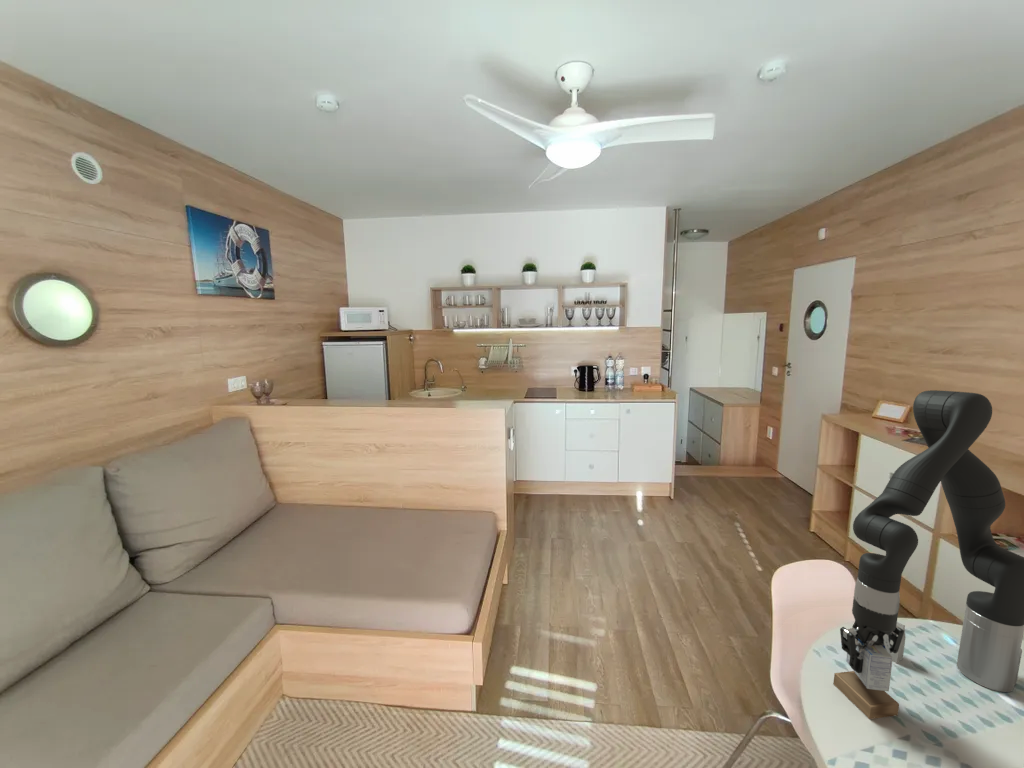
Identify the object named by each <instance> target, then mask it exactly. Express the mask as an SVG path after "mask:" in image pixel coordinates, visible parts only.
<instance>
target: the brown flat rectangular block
mask: <svg viewBox="0 0 1024 768" xmlns="http://www.w3.org/2000/svg"><path fill="white" fill-rule="evenodd" d="M832 685H834V686H835V688H836V689H838V690H839V691H840V693H842V694H843V696H845V697H846V698H847V699H848V700H849V701H850V702H851V703H852V704H853V705H854V706H855V707H856V708H857V709H858V710H859V711H860V712H861V713H862V714H863V715H865V717H866V718H868V719H869V720H872V719H873V720H874V719H875V720H876V719H882V718H889V717H898V715H899V709H900V703H899V702H898V701H897V700H896V699H894V698H893V697H892V696H891V695H890V694H888V693H887V691H880V690H873V689H867V688H866V686H865V685H864V684H863V682H862V681H861V680H860V678H859V677H858V676H857V674H856V673H855V672H854V670H852V671H851V670H849V671H844V672H843V671H841V672H834V674H833V684H832Z"/></svg>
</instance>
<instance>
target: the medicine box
mask: <svg viewBox="0 0 1024 768" xmlns="http://www.w3.org/2000/svg"><path fill="white" fill-rule="evenodd" d="M859 641H860V642H861V643H862V644H863V645H865V644H864V643H863V642H862V641H861V640H860V639H859ZM856 650H857V651H858V652H859V650H860V648H859V647H858V646H857V648H856ZM862 659H863V666H862V673H857V672H856V671H855V670H853V671H854V672H855V673H856V674H857V676H858V677H859V678H860V680H861V681H862V682H863V684H864V685H865V686H866V688H867V689H873V690H880V691H885V692H890V685H891V677H892V669H893V668H892V667H893V661H892V660H893V658H892V656H891V655H890V654H889V653H888V652H887V651H886V650H885V649H884V647H883V646H882V645H873V646H872V647H871V649H870V650H867V651H865V653H864V657H863V658H862ZM845 660H846V663H847V664H848V665H849V662H850V655H849V654H848V653H847V652H846V659H845Z"/></svg>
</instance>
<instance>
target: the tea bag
mask: <svg viewBox="0 0 1024 768" xmlns="http://www.w3.org/2000/svg"><path fill="white" fill-rule="evenodd" d="M897 626H898V627H900V628H901V629H903V630H904V634H903V637H902V640H901V643H900V646H899V649H898V652H897V653H893V652H892V653H891V656H892V658H893V660H892V663H895V664H898V663H899V662H900V661H902V659H904V653H905V651H904V650H905V645H906V629H905V627H906V625H904V624H902V623H900V622H898V621H897ZM890 644H891V645H893V641H892V640H891V641H890Z"/></svg>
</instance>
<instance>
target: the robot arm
mask: <svg viewBox="0 0 1024 768" xmlns="http://www.w3.org/2000/svg"><path fill="white" fill-rule="evenodd" d="M912 410H913V412H912V413H913V417H914V420H915V423H916V426H917V427H918V429H919V432H920V434H921V435H922V438H923V440H924V442H925V443H926V445H927V449H924V450H923V451H922V452H920V453H918V454H917V455H915V456H913V457H911V458H909V459H908V460H906V461H905V462H904V463H902V464H901V465H900V466H898V467H897V469H896V470H895V471H894V472H893V474H892V475H891V477H890V478H889V480H888V482H887V484H886V486H885V487H884V489H883V491H882V492H881V494H880V495H878V496H877V497H876V498H875V499H874V500H873V501H872V502H871V503H870V504H868V505H867V506H866V507H865V508H863V509H862V510H861V511H860V512H859V513H858V514H857V516H855V518H854V519H853V520H854V521H853V523H852V531H853V535H855V537H856V538H857V539H858V540H860V541H862V542H865V543H867V544H869V545H871V546H873V547H875V548H877V549H880V550H882V551H884V552H885V555H883V554H879V553H874V552H866V553H863V554H861V556H860V558H859V561H858V571H857V578H856V582H855V585H854V592H853V599H852V600H853V601H852V609H851V612H852V615H853V619H854V623H853V624H852V627H850V628H846V627H845V626H841V627H840V629H839V633H840V641H841V649H842V650H843V651H844V652H845V653H846V654H847V653H848V654H849V655H850V662H849V664H848V665H849V666H850V668H851V669H852V671H854V670H855V671H856V672H857V673H862V666H863V659H862V658H863V657H864V653H865V651H867V650H870V649H871V647H872V646H873V645H882V646H883V647H884V649H885V650H886V651H887V652H888V653H889V654H890V655H891V653H892V652H893V653H897V652H898V649H899V646H900V643H901V640H902V637H903V634H904V630H903V629H901V628H900V627H898V626H897V622H898V617H899V609H900V602H901V601H900V600H901V597H900V595H901V594H900V590H901V589H900V588H901V583H902V581H901V580H902V575H903V572H904V570H905V567H906V566H907V564H908V562H909V560H910V558H911V557H912V555H913V553H914V552H915V551H916V549H917V547H918V545H919V537H918V534H917V532H916V531H915V529H914V528H913V527H912V526H911V525H908V524H906V523H904V522H901V521H898V520H895V519H894V518H891V517H894V516H895V515H903V516H909V517H918V516H920V515H921V514H922V513H923V511H924V510H925V508H926V506H927V505H928V503H929V501H930V500H931V498H932V497H933V496H932V495H934V493H935V490H936V489H937V488H938V486H939V484H941V487H942V491H943V493H944V496H945V498H946V499H945V500H946V502H947V505H948V507H949V509H950V513H951V516H952V519H953V523H954V527H955V531H956V534H957V540H958V548H959V554H960V559H961V562H962V565H963V566H964V569H965V570H966V571H967V572H968V573H969V574H971V575H972V576H974V577H975V578H977V579H979V580H981V581H982V582H985V583H986V584H988V585H990V586H992V587H994V588H995V589H994V591H993V592H988V591H982V590H980V591H979V590H974V591H970V592H969V593H968V594H967V596H966V602H965V603H966V604H965V609H964V615H963V622H962V628H961V636H960V639H959V640H960V641H959V648H958V652H957V653H958V655H957V661H956V667H957V669H958V670H959V672H960V673H962V675H964V676H965V677H966V678H967V679H969V680H971V681H973V682H974V683H976V684H978V685H980V686H983V687H985V688H986V689H989V690H993V691H996V692H1000V693H1010V692H1012V691H1013V690H1014V687H1015V685H1017V682H1018V678H1019V677H1018V675H1019V671H1020V664H1021V658H1022V653H1023V649H1022V648H1021V647H1022V642H1023V637H1024V556H1021V555H1020V554H1017V553H1015V552H1012V551H1010V550H1008V549H1006V548H1005V547H1002V546H999V544H997V543H996V541H995V539H994V536H993V533H992V529H991V526H992V525H993V524H994V523H995V522H996V521H997V520H998V519H999V518H1000V516H1002V514H1003V512H1004V511H1005V509H1006V499H1005V496H1004V493H1003V489H1002V486H1001V482H1000V480H999V479H998V477H997V475H996V474H995V473H994V471H993V470H992V469H991V468H990V467H989V466H988V464H986V463H985V462H983V460H981V459H980V458H979V457H978V456H977V455H975V454H974V452H972V451H971V450H969V449H970V447H972V445H973V444H974V443H975V442H976V441H977V440H978V438H979V437H980V436H981V435H982V433H983V432H985V429H987V427H988V425H989V424H990V422H991V419H992V415H993V406H992V403H991V401H990V400H989V399H988V398H987V397H986V396H985V395H983V394H981V393H976V392H966V391H954V390H953V391H952V390H925V391H922V392H919V394H917V396H916V397H915V398H914V400H913V404H912ZM859 639H860V640H861V641H862V642H863V643H864V644H865V645H863V644H862V643H861V642H860V641H859ZM891 640H892V641H893V645H891V644H890V641H891ZM857 646H858V647H859V648H860V650H859V652H858V651H857V650H856V648H857Z"/></svg>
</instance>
